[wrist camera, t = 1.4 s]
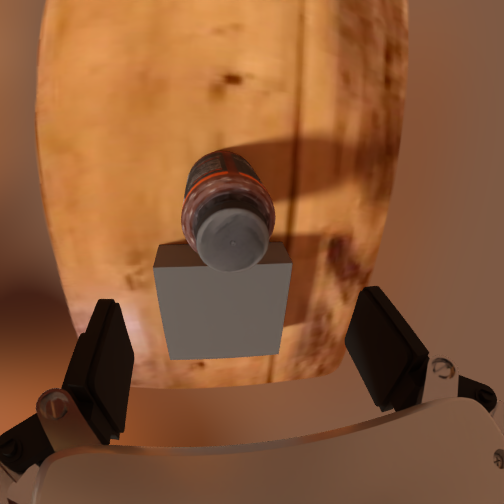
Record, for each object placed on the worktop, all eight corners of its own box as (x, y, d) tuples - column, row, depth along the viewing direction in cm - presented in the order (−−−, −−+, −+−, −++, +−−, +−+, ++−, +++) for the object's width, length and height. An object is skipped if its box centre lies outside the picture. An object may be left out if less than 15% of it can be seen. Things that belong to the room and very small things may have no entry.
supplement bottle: (175, 194, 25) (156, 261, 15) (210, 136, 23) (212, 166, 13) (231, 224, 27) (247, 302, 18) (268, 172, 25) (308, 224, 16)
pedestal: (158, 245, 27) (153, 267, 24) (282, 241, 29) (292, 263, 26) (172, 334, 33) (170, 359, 30) (271, 329, 35) (278, 354, 32)
